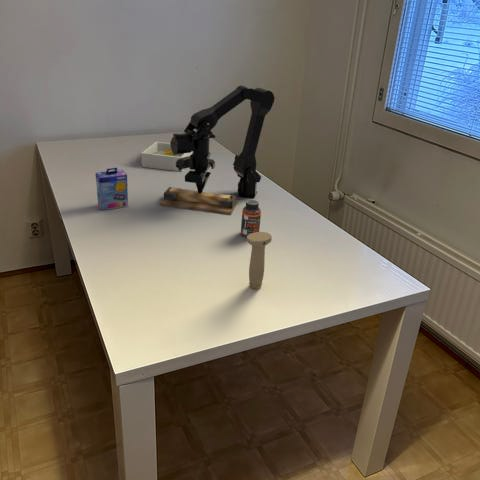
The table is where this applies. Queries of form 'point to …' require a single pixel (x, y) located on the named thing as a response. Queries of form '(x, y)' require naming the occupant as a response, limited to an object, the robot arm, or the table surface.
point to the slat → (199, 196)
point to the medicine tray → (161, 157)
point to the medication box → (165, 152)
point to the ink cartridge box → (112, 189)
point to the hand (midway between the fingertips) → (200, 193)
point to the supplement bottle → (250, 218)
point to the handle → (257, 257)
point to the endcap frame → (224, 206)
